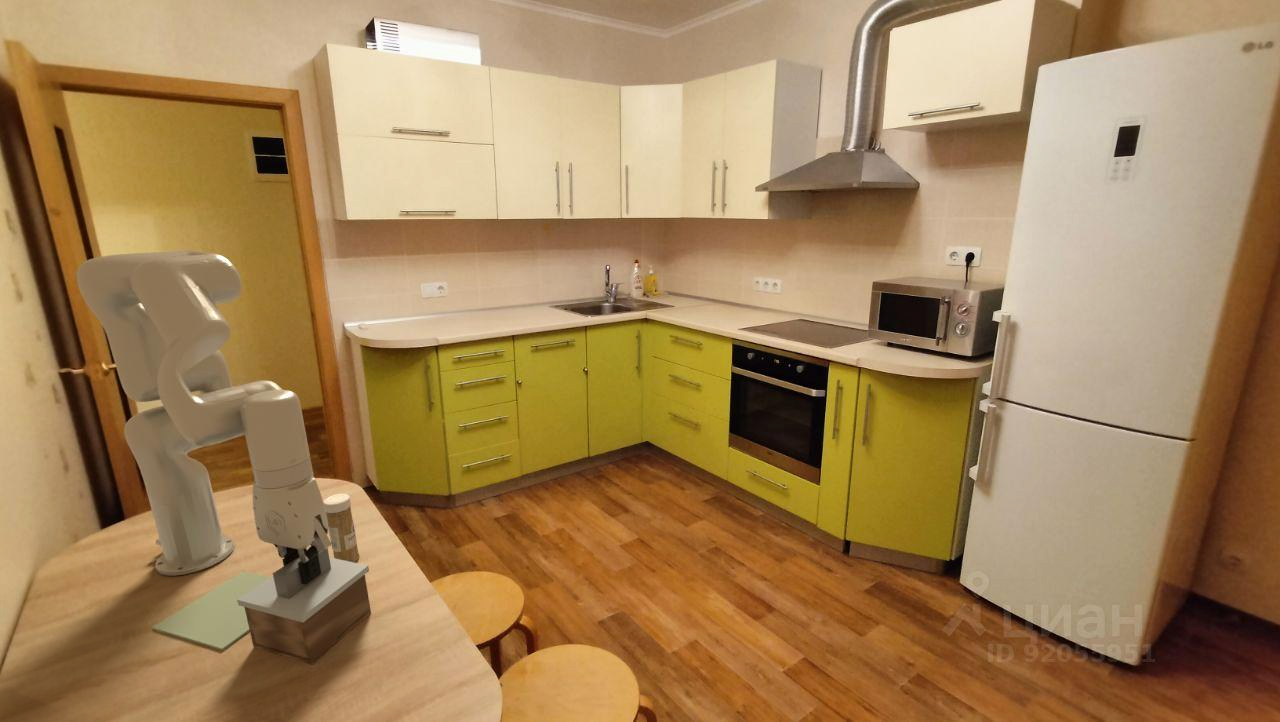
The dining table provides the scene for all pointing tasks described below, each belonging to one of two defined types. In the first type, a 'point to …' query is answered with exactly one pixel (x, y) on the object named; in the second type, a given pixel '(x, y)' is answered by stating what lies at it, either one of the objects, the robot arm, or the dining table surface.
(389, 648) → the dining table surface
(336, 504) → the sprinkles bottle
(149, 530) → the dining table surface
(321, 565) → the lid
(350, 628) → the box
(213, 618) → the mat
